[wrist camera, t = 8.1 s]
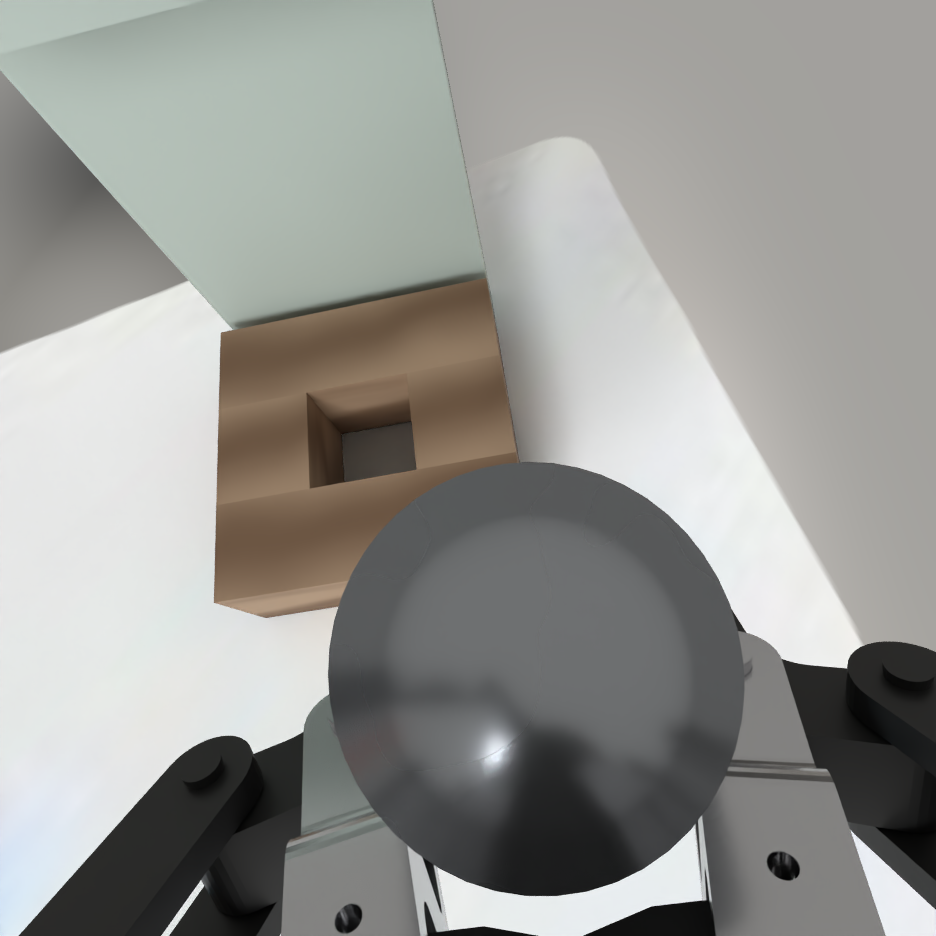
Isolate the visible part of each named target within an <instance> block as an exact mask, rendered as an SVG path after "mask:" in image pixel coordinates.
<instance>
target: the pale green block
mask: <svg viewBox="0 0 936 936" xmlns="http://www.w3.org/2000/svg"><path fill="white" fill-rule="evenodd" d="M0 71H1V72H2V73H3V74H4V75H5V76H6V77H7V78H8V79H9V81H10V82H11V83H12V84H13V85H14V86H15V87H16V88H17V90H18V91H19V92H20V93H21V94H22V95H23V96H24V97H25V98H26V99H27V101H28V102H29V103H30V104H31V105H32V106H33V107H34V108H35V110H36V111H37V112H38V113H39V114H40V115H41V116H42V117H43V119H44V120H45V121H46V122H47V123H48V124H49V125H50V126H51V127H52V128H53V130H54V131H55V132H56V133H57V134H58V135H59V136H60V137H61V139H62V140H63V141H64V142H65V143H66V144H67V145H68V146H69V147H70V149H71V150H72V151H73V152H74V153H75V154H76V155H77V156H78V157H79V158H80V160H81V161H82V162H83V163H84V164H85V165H86V166H87V167H88V169H89V170H90V171H91V172H92V173H93V174H94V175H95V177H96V178H97V179H98V180H99V181H100V182H101V183H102V184H103V185H104V187H105V188H106V189H107V190H108V191H109V192H110V193H111V194H112V195H113V197H114V198H115V199H116V200H117V201H118V202H119V203H120V204H121V206H122V207H123V208H124V209H125V210H126V211H127V212H128V213H129V214H130V215H131V217H132V218H133V219H134V220H135V221H136V222H137V223H138V224H139V225H140V227H141V228H142V229H143V230H144V231H145V232H146V233H147V234H148V236H149V237H150V238H151V239H152V240H153V241H154V242H155V243H156V244H157V246H158V247H159V248H160V249H161V250H162V251H163V252H164V253H165V254H166V256H167V257H168V258H169V259H170V260H171V261H172V262H173V263H174V265H175V266H176V267H177V268H178V269H179V270H180V271H181V272H182V273H183V275H184V276H185V277H186V278H187V279H188V280H189V281H190V282H191V284H192V285H193V286H194V287H195V288H196V289H197V290H198V291H199V292H200V294H201V295H202V296H203V297H204V298H205V299H206V300H207V301H208V303H209V304H210V305H211V306H212V307H213V308H214V309H215V310H216V311H217V313H218V314H219V315H220V316H221V317H222V318H223V319H224V320H225V321H226V323H227V324H228V325H229V326H230V327H231V328H232V329H233V330H237V329H241V328H246V327H251V326H256V325H261V324H266V323H270V322H275V321H280V320H285V319H290V318H295V317H299V316H304V315H309V314H314V313H319V312H324V311H329V310H333V309H338V308H343V307H348V306H353V305H358V304H362V303H367V302H372V301H377V300H382V299H387V298H392V297H396V296H401V295H406V294H411V293H416V292H421V291H425V290H430V289H435V288H440V287H445V286H450V285H455V284H459V283H464V282H469V281H474V280H479V279H484V278H486V279H487V284H488V289H489V294H490V299H491V293H490V288H489V283H488V278H487V272H486V267H485V262H484V257H483V252H482V247H481V242H480V237H479V232H478V227H477V222H476V217H475V212H474V206H473V201H472V196H471V191H470V186H469V181H468V176H467V171H466V166H465V161H464V156H463V151H462V146H461V140H460V136H459V131H458V125H457V120H456V115H455V110H454V105H453V100H452V95H451V90H450V84H449V80H448V74H447V69H446V64H445V59H444V55H443V49H442V44H441V39H440V34H439V29H438V24H437V19H436V13H435V9H434V3H433V0H0ZM491 304H492V299H491ZM492 309H493V305H492ZM493 314H494V311H493ZM494 319H495V317H494Z"/></svg>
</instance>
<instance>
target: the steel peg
mask: <svg viewBox="0 0 936 936" xmlns="http://www.w3.org/2000/svg"><path fill="white" fill-rule="evenodd" d="M328 680H329V694H330V705H331V710H332V715H333V720H334V725H335V730H336V733H337V736H338V740H339V743H340V746H341V749H342V752H343V755H344V758H345V760H346V762H347V764H348V766H349V768H350V770H351V773H352V775H353V777H354V779H355V781H356V783H357V785H358V786H359V788H360V790H361V791H362V793H363V794H364V796H365V797H366V799H367V800H368V802H369V804H370V805H371V807H372V808H373V809H374V811H375V812H376V813H377V814H378V815H379V817H380V818H381V819H382V820H383V821H384V823H385V824H386V825H387V826H388V827H389V828H390V830H391V831H392V832H393V833H394V834H395V835H397V836H398V837H399V838H400V839H401V840H402V841H403V842H404V843H405V844H407V845H408V846H409V847H410V848H411V849H412V850H413V851H414V852H416V853H417V854H419V855H420V856H422V857H423V858H425V859H426V860H428V861H429V862H431V863H432V864H434V865H435V866H436V867H438V868H440V869H442V870H444V871H446V872H448V873H450V874H452V875H454V876H456V877H458V878H460V879H462V880H464V881H466V882H469V883H472V884H475V885H479V886H482V887H485V888H488V889H491V890H494V891H499V892H505V893H512V894H518V895H524V896H559V895H566V894H573V893H580V892H586V891H590V890H593V889H596V888H599V887H603V886H606V885H609V884H612V883H615V882H618V881H620V880H622V879H624V878H626V877H628V876H630V875H632V874H634V873H636V872H638V871H640V870H642V869H644V868H645V867H647V866H648V865H649V864H651V863H652V862H654V861H655V860H657V859H658V858H659V857H661V856H662V855H664V854H665V853H666V852H668V851H669V850H670V849H671V848H672V847H673V846H674V845H675V844H676V843H677V842H678V841H680V840H681V839H682V838H683V837H684V836H685V835H686V834H687V833H688V832H689V831H690V830H691V829H692V827H693V826H694V825H695V823H696V822H697V821H698V820H699V818H700V817H701V816H702V814H703V813H704V812H705V810H706V809H707V808H708V807H709V805H710V803H711V802H712V800H713V798H714V796H715V794H716V793H717V791H718V789H719V787H720V785H721V784H722V782H723V780H724V778H725V775H726V773H727V770H728V768H729V765H730V762H731V760H732V757H733V755H734V752H735V749H736V744H737V740H738V736H739V731H740V727H741V723H742V715H743V703H744V692H745V687H744V664H743V656H742V650H741V644H740V639H739V633H738V629H737V626H736V623H735V620H734V616H733V613H732V610H731V607H730V604H729V601H728V599H727V597H726V595H725V593H724V590H723V588H722V586H721V584H720V582H719V579H718V577H717V576H716V574H715V573H714V571H713V569H712V568H711V566H710V564H709V563H708V561H707V560H706V558H705V556H704V555H703V553H702V552H701V551H700V550H699V548H698V547H697V546H696V545H695V543H694V542H693V541H692V539H691V538H690V537H689V536H688V534H687V533H686V532H685V531H684V530H683V529H682V528H681V527H680V526H679V525H678V524H677V523H676V522H675V521H674V520H673V519H672V518H671V517H670V516H669V515H668V514H666V513H665V512H664V511H662V510H661V509H660V508H659V507H657V506H656V505H655V504H653V503H652V502H651V501H649V500H648V499H647V498H645V497H644V496H642V495H640V494H639V493H637V492H635V491H634V490H632V489H630V488H628V487H627V486H625V485H623V484H621V483H619V482H616V481H614V480H612V479H609V478H607V477H605V476H603V475H600V474H597V473H594V472H590V471H587V470H584V469H580V468H577V467H571V466H565V465H560V464H554V463H537V462H522V463H508V464H501V465H495V466H490V467H485V468H480V469H477V470H474V471H471V472H468V473H465V474H462V475H459V476H456V477H454V478H452V479H450V480H448V481H446V482H444V483H441V484H439V485H437V486H435V487H434V488H432V489H431V490H429V491H427V492H426V493H424V494H422V495H421V496H419V497H418V498H416V499H415V500H414V501H412V502H411V503H410V504H409V505H407V506H406V507H405V508H404V509H402V510H401V511H400V512H399V513H397V514H396V515H395V516H394V517H393V518H392V519H391V520H390V522H389V523H388V524H387V525H386V526H385V527H384V528H383V529H382V530H381V531H380V532H379V533H378V534H377V536H376V537H375V538H374V540H373V541H372V542H371V544H370V545H369V546H368V548H367V549H366V550H365V552H364V553H363V555H362V557H361V558H360V560H359V562H358V564H357V565H356V567H355V569H354V570H353V572H352V574H351V576H350V579H349V581H348V583H347V585H346V588H345V590H344V592H343V595H342V597H341V600H340V604H339V607H338V610H337V614H336V617H335V620H334V625H333V631H332V637H331V643H330V649H329V669H328Z"/></svg>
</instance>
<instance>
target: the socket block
mask: <svg viewBox="0 0 936 936" xmlns="http://www.w3.org/2000/svg"><path fill="white" fill-rule="evenodd" d="M410 421H411V422H412V431H413V441H414V451H415V460H416V470H411V471H406V472H400V473H394V474H389V475H383V476H378V477H372V478H366V479H361V480H355V481H350V482H344V471H343V453H342V436H341V434H345V433H350V432H356V431H361V430H367V429H372V428H377V427H383V426H388V425H393V424H399V423H404V422H410ZM508 463H519V457H518V451H517V445H516V439H515V433H514V428H513V422H512V416H511V410H510V404H509V398H508V393H507V387H506V381H505V375H504V369H503V363H502V357H501V352H500V346H499V340H498V334H497V329H496V324H495V319H494V314H493V309H492V304H491V299H490V294H489V289H488V284H487V279H486V278H484V279H479V280H474V281H469V282H464V283H459V284H455V285H450V286H445V287H440V288H435V289H430V290H425V291H421V292H416V293H411V294H406V295H401V296H396V297H392V298H387V299H382V300H377V301H372V302H367V303H362V304H358V305H353V306H348V307H343V308H338V309H333V310H329V311H324V312H319V313H314V314H309V315H304V316H299V317H295V318H290V319H285V320H280V321H275V322H270V323H266V324H261V325H256V326H251V327H246V328H241V329H237V330H232V331H227V332H222V333H221V346H220V386H219V425H218V464H217V503H216V542H215V582H214V603H217V604H220V605H224V606H227V607H230V608H234V609H237V610H241V611H244V612H247V613H251V614H254V615H258V616H261V617H264V618H268V617H275V616H281V615H287V614H294V613H300V612H306V611H313V610H319V609H325V608H332V607H338V606H339V604H340V600H341V597H342V595H343V592H344V590H345V588H346V585H347V583H348V581H349V579H350V576H351V574H352V572H353V570H354V569H355V567H356V565H357V564H358V562H359V560H360V558H361V557H362V555H363V553H364V552H365V550H366V549H367V548H368V546H369V545H370V544H371V542H372V541H373V540H374V538H375V537H376V536H377V534H378V533H379V532H380V531H381V530H382V529H383V528H384V527H385V526H386V525H387V524H388V523H389V522H390V520H391V519H392V518H393V517H394V516H395V515H396V514H397V513H399V512H400V511H401V510H402V509H404V508H405V507H406V506H407V505H409V504H410V503H411V502H412V501H414V500H415V499H416V498H418V497H419V496H421V495H422V494H424V493H426V492H427V491H429V490H431V489H432V488H434V487H435V486H437V485H439V484H441V483H444V482H446V481H448V480H450V479H452V478H454V477H456V476H459V475H462V474H465V473H468V472H471V471H474V470H477V469H480V468H485V467H490V466H495V465H501V464H508Z"/></svg>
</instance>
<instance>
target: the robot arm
mask: <svg viewBox="0 0 936 936" xmlns="http://www.w3.org/2000/svg"><path fill="white" fill-rule="evenodd" d="M731 610H732V609H731ZM732 613H733V616H734V620H735V623H736V626H737V629H738V633H739V639H740V644H741V650H742V656H743V664H744V687H745V692H744V703H743V715H742V723H741V727H740V731H739V736H738V740H737V744H736V749H735V752H734V755H733V757H732V760H731V762H730V765H729V768H728V770H727V773H726V775H725V778H724V780H723V782H722V784H721V785H720V787H719V789H718V791H717V793H716V794H715V796H714V798H713V800H712V802H711V803H710V805H709V807H708V808H707V809H706V810H705V812H704V813H703V814H702V816H701V817H700V818H699V820H698V821H697V822H696V823H695V835H696V845H697V854H698V864H699V873H700V883H701V892H702V901H694V902H686V903H678V904H669V905H661V906H652V907H649V908H647V909H645V910H642V911H640V912H638V913H635V914H633V915H631V916H628V917H626V918H624V919H621V920H619V921H617V922H614V923H612V924H610V925H607V926H605V927H603V928H600V929H598V930H596V931H593V932H591V933H589V934H586V935H584V936H886V935H885V933H884V930H883V927H882V924H881V921H880V918H879V915H878V912H877V909H876V906H875V903H874V900H873V897H872V894H871V891H870V888H869V885H868V882H867V879H866V876H865V873H864V870H863V867H862V864H861V861H860V858H859V855H858V852H857V849H856V846H855V843H854V840H853V837H852V834H851V831H852V832H853V833H854V834H855V835H856V836H857V837H858V838H859V839H860V840H861V841H863V842H864V843H865V844H866V845H867V846H868V847H869V848H870V849H871V850H872V851H873V852H874V853H875V854H877V855H878V856H879V857H880V858H881V859H882V860H883V861H884V862H885V863H886V864H887V865H888V866H889V867H891V868H892V869H893V870H894V871H895V872H896V873H897V874H898V875H899V876H900V877H901V878H902V879H903V880H904V881H906V882H907V883H908V884H909V885H910V886H911V887H912V888H913V889H914V890H915V891H916V892H917V893H918V894H920V895H921V896H922V897H923V898H924V899H925V900H926V901H927V902H928V903H929V904H930V905H931V906H932V907H934V908H935V909H936V652H934V651H932V650H929V649H927V648H924V647H920V646H917V645H913V644H908V643H902V642H876V643H871V644H867V645H865V646H862V647H860V648H859V649H857V650H855V651H854V652H853V653H852V654H851V656H850V658H849V660H848V666H847V669H846V668H834V667H823V666H811V665H804V664H798V663H793V662H789V661H786V660H783V659H781V657H780V655H779V654H778V652H777V651H776V650H775V649H774V648H773V647H772V646H771V645H770V644H769V643H767V642H766V641H764V640H762V639H761V638H759V637H757V636H754V635H751V634H748V633H746V631H745V630H744V628H743V627H742V625H741V624H740V622H739V620H738V619H737V617H736V616H735V614H734V612H733V611H732ZM850 830H851V831H850ZM200 880H201V881H202V882H203V884H204V887H203V889H202V890H201V891H200V893H199V894H198V896H197V897H196V899H195V900H194V901H193V903H192V904H191V906H190V907H189V909H188V910H187V911H186V913H185V914H184V916H183V917H182V918H181V920H180V921H179V923H178V924H177V926H176V927H175V928H174V930H173V931H172V933H171V934H170V936H280V934H281V936H536V935H530V934H524V933H519V932H513V931H507V930H501V929H495V928H490V927H484V926H483V927H475V928H467V929H458V930H450V931H449V928H448V923H447V918H446V912H445V907H444V902H443V896H442V891H441V886H440V880H439V875H438V870H437V867H436V866H435V865H434V864H432V863H431V862H429V861H428V860H426V859H425V858H423V857H422V856H420V855H419V854H417V853H416V852H414V851H413V850H412V849H411V848H410V847H409V846H408V845H407V844H405V843H404V842H403V841H402V840H401V839H400V838H399V837H398V836H397V835H395V834H394V833H393V832H392V831H391V830H390V828H389V827H388V826H387V825H386V824H385V823H384V821H383V820H382V819H381V818H380V817H379V815H378V814H377V813H376V812H375V811H374V809H373V808H372V807H371V805H370V804H369V802H368V800H367V799H366V797H365V796H364V794H363V793H362V791H361V790H360V788H359V786H358V785H357V783H356V781H355V779H354V777H353V775H352V773H351V770H350V768H349V766H348V764H347V762H346V760H345V758H344V755H343V752H342V749H341V746H340V743H339V740H338V736H337V733H336V730H335V725H334V720H333V715H332V710H331V705H330V694H329V695H328V696H326V697H325V698H323V699H322V700H321V701H320V702H319V703H318V704H317V705H316V706H315V707H314V708H313V709H312V711H311V712H310V713H309V715H308V717H307V719H306V722H305V725H304V732H303V733H301V734H299V735H297V736H296V737H294V738H291V739H289V740H287V741H285V742H282V743H280V744H277V745H275V746H272V747H270V748H267V749H265V750H263V751H260V752H258V753H255V754H253V752H252V750H251V748H250V745H249V744H248V743H247V742H246V741H245V740H244V739H242V738H239V737H236V736H221V737H216V738H212V739H209V740H206V741H204V742H202V743H200V744H198V745H196V746H194V747H193V748H191V749H189V750H188V751H187V752H185V753H184V754H183V755H181V756H180V757H179V758H178V759H177V760H176V761H175V762H174V763H173V764H172V765H171V766H170V767H169V768H168V769H167V770H166V771H165V772H164V774H163V775H162V776H161V777H160V778H159V779H158V780H157V781H156V783H155V784H154V785H153V786H152V787H151V788H150V789H149V790H148V791H147V793H146V794H145V795H144V796H143V797H142V798H141V799H140V800H139V802H138V803H137V804H136V805H135V806H134V807H133V808H132V809H131V811H130V812H129V813H128V814H127V815H126V816H125V817H124V818H123V820H122V821H121V822H120V823H119V824H118V825H117V826H116V827H115V828H114V830H113V831H112V832H111V833H110V834H109V835H108V836H107V837H106V839H105V840H104V841H103V842H102V843H101V844H100V845H99V846H98V848H97V849H96V850H95V851H94V852H93V853H92V854H91V855H90V857H89V858H88V859H87V860H86V861H85V862H84V863H83V864H82V865H81V867H80V868H79V869H78V870H77V871H76V872H75V873H74V874H73V876H72V877H71V878H70V879H69V880H68V881H67V882H66V883H65V885H64V886H63V887H62V888H61V889H60V890H59V891H58V892H57V894H56V895H55V896H54V897H53V898H52V899H51V900H50V901H49V902H48V904H47V905H46V906H45V907H44V908H43V909H42V910H41V911H40V913H39V914H38V915H37V916H36V917H35V918H34V919H33V920H32V922H31V923H30V924H29V925H28V926H27V927H26V928H25V929H24V930H23V932H22V933H21V934H20V935H19V936H161V935H162V934H163V932H164V931H165V929H166V928H167V927H168V925H169V924H170V922H171V921H172V920H173V918H174V917H175V915H176V914H177V913H178V911H179V910H180V908H181V907H182V906H183V904H184V903H185V901H186V900H187V899H188V897H189V896H190V894H191V893H192V892H193V890H194V889H195V887H196V886H197V885H198V883H199V882H200Z"/></svg>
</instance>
